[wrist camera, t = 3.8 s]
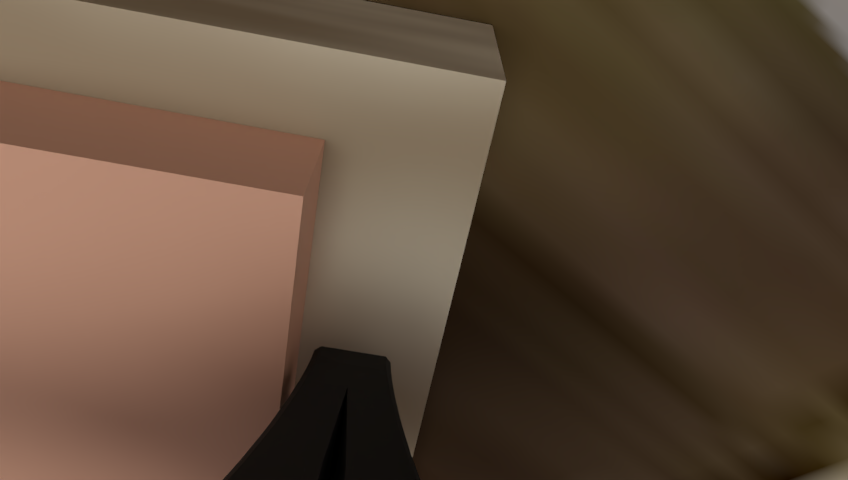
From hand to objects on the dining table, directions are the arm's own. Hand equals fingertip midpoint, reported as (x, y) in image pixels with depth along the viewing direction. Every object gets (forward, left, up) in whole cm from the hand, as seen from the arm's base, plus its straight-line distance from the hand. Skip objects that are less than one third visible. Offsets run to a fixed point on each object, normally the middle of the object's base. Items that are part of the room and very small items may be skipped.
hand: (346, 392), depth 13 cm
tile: (0, +4, -1) cm, 4 cm away
